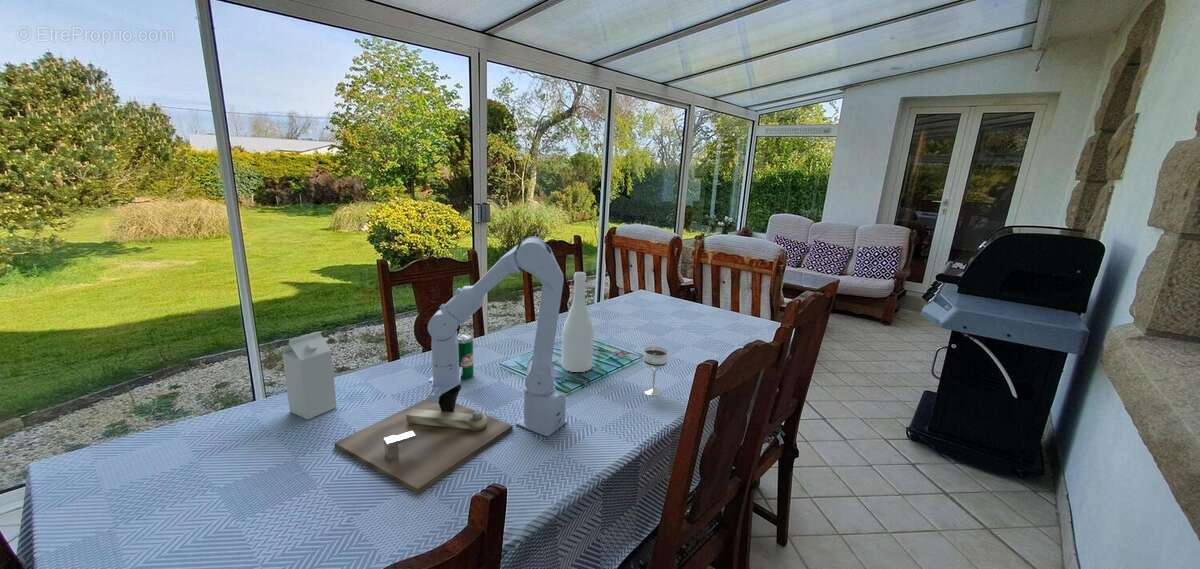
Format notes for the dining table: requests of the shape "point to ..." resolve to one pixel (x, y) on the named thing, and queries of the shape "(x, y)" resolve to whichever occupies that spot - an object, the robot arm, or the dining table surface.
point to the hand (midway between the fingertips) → (447, 416)
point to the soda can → (466, 355)
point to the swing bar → (448, 419)
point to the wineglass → (654, 365)
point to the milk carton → (309, 376)
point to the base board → (421, 446)
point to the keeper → (396, 444)
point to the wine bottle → (578, 331)
